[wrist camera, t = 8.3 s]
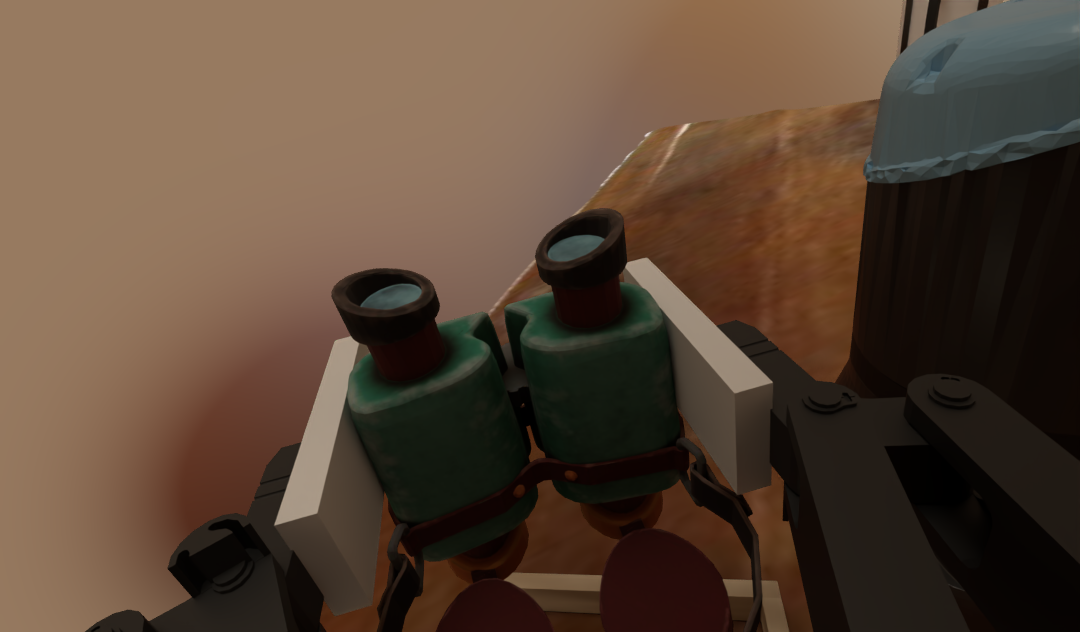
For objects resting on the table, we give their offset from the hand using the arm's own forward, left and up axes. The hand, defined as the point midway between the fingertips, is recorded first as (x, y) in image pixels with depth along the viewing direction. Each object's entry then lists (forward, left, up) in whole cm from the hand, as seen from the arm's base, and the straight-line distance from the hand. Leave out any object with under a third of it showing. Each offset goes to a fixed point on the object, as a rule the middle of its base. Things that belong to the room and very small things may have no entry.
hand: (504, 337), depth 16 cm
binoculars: (+4, +2, -7) cm, 8 cm away
